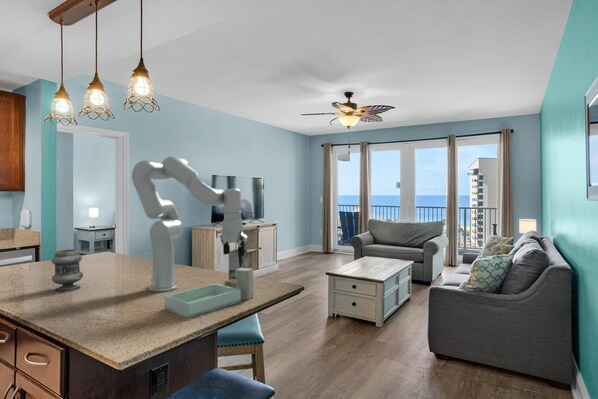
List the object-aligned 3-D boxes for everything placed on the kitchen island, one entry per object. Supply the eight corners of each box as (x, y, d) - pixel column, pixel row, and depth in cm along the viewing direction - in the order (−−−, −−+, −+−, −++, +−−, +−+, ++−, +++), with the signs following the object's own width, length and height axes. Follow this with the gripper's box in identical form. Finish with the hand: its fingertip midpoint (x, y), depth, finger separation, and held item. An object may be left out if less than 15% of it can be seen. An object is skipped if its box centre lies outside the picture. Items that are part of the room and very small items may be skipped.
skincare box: (253, 297, 150) (253, 268, 150) (249, 299, 146) (248, 270, 146) (240, 295, 152) (240, 267, 152) (235, 298, 148) (235, 269, 148)
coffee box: (241, 285, 169) (240, 252, 169) (228, 285, 170) (228, 251, 170) (247, 281, 178) (247, 249, 178) (235, 280, 179) (235, 248, 179)
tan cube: (224, 292, 158) (224, 281, 158) (233, 289, 162) (233, 279, 162) (232, 294, 155) (232, 282, 155) (240, 291, 159) (240, 280, 159)
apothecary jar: (48, 289, 164) (48, 250, 163) (78, 284, 172) (78, 247, 172) (55, 294, 155) (55, 253, 155) (86, 288, 164) (86, 250, 164)
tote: (164, 309, 135) (164, 295, 135) (215, 295, 153) (215, 283, 153) (189, 318, 125) (189, 303, 125) (240, 301, 143) (240, 289, 143)
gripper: (213, 216, 160) (214, 254, 161) (239, 217, 150) (240, 257, 150) (226, 215, 166) (227, 252, 166) (252, 216, 155) (253, 255, 156)
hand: (233, 254), depth 158 cm, fingers open, 9 cm apart
